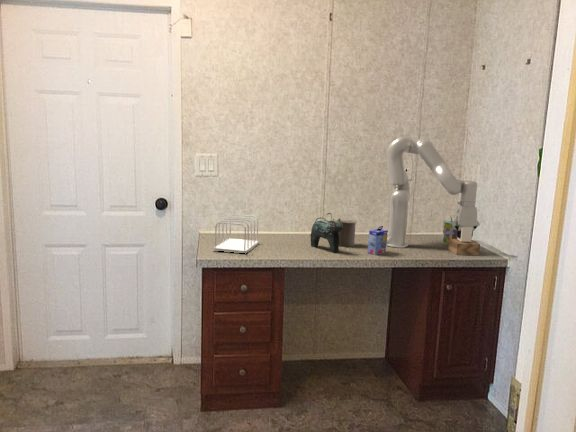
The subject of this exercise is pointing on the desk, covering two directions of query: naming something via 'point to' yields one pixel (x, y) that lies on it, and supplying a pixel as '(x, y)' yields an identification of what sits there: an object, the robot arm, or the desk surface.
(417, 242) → the desk surface
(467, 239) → the white rectangular block
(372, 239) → the ink cartridge box
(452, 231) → the chalk box
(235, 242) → the file sorter
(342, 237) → the pillar candle
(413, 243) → the desk surface
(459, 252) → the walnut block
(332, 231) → the animal figurine
